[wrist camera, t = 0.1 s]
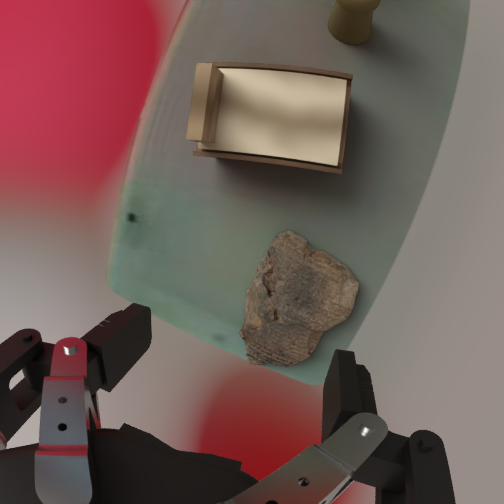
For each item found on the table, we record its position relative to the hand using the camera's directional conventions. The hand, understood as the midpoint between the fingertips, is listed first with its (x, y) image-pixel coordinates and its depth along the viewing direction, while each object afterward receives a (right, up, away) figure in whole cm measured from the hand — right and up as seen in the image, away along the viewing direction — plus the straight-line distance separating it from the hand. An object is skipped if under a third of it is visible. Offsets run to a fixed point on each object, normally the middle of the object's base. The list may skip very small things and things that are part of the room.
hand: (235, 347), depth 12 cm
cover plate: (+3, +19, +18) cm, 26 cm away
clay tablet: (+6, -4, +31) cm, 32 cm away
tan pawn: (+14, +34, +19) cm, 42 cm away
